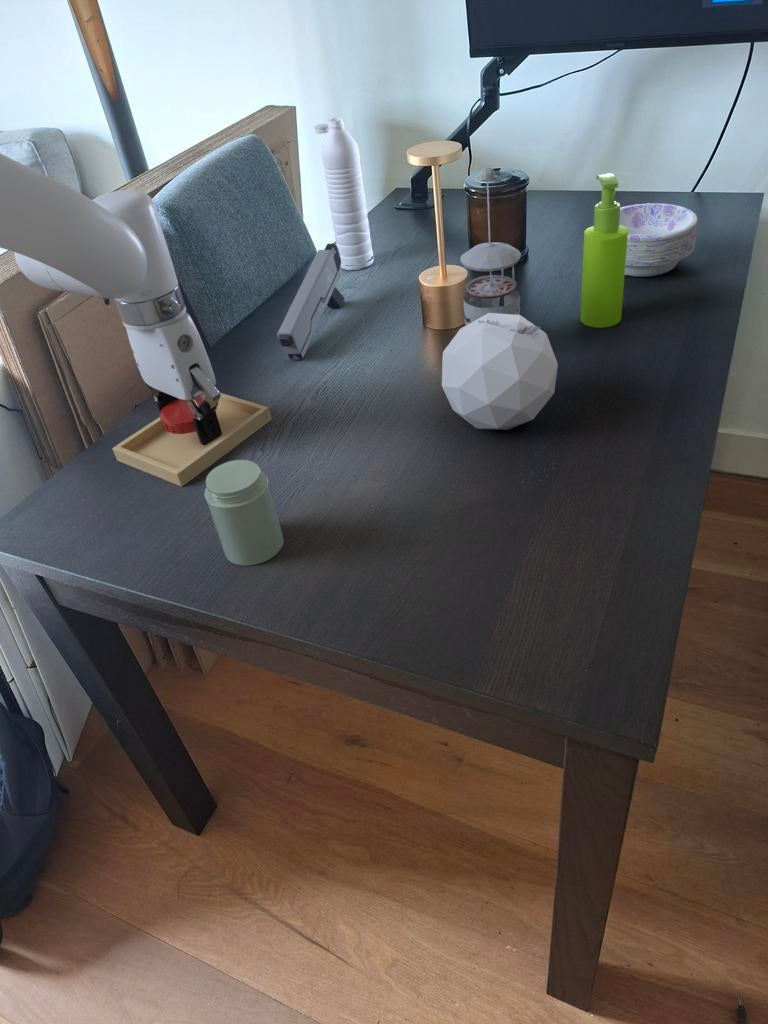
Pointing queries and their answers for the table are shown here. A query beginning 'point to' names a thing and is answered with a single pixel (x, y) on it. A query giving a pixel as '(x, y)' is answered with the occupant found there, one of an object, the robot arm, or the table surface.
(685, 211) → the paper bowls
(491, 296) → the french press
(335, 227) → the water bottle
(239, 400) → the tray
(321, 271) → the gun
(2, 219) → the robot arm
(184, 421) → the jar lid
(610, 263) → the soap dispenser
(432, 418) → the table surface
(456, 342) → the geodesic sphere
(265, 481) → the jam jar
